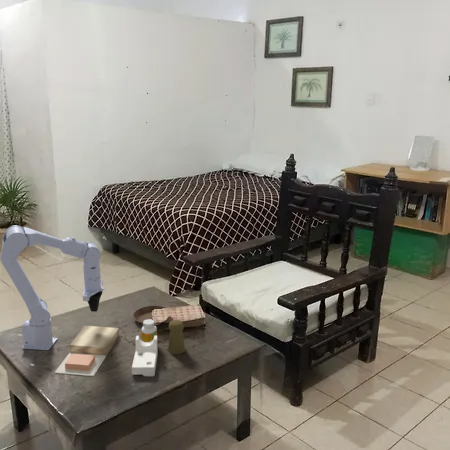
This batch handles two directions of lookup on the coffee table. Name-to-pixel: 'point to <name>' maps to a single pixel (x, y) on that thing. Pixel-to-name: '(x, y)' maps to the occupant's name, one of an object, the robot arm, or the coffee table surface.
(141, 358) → the bracket
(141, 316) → the saucer
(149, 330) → the supplement bottle
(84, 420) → the coffee table surface
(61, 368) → the mat
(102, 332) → the beige flat block
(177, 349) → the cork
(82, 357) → the tile
